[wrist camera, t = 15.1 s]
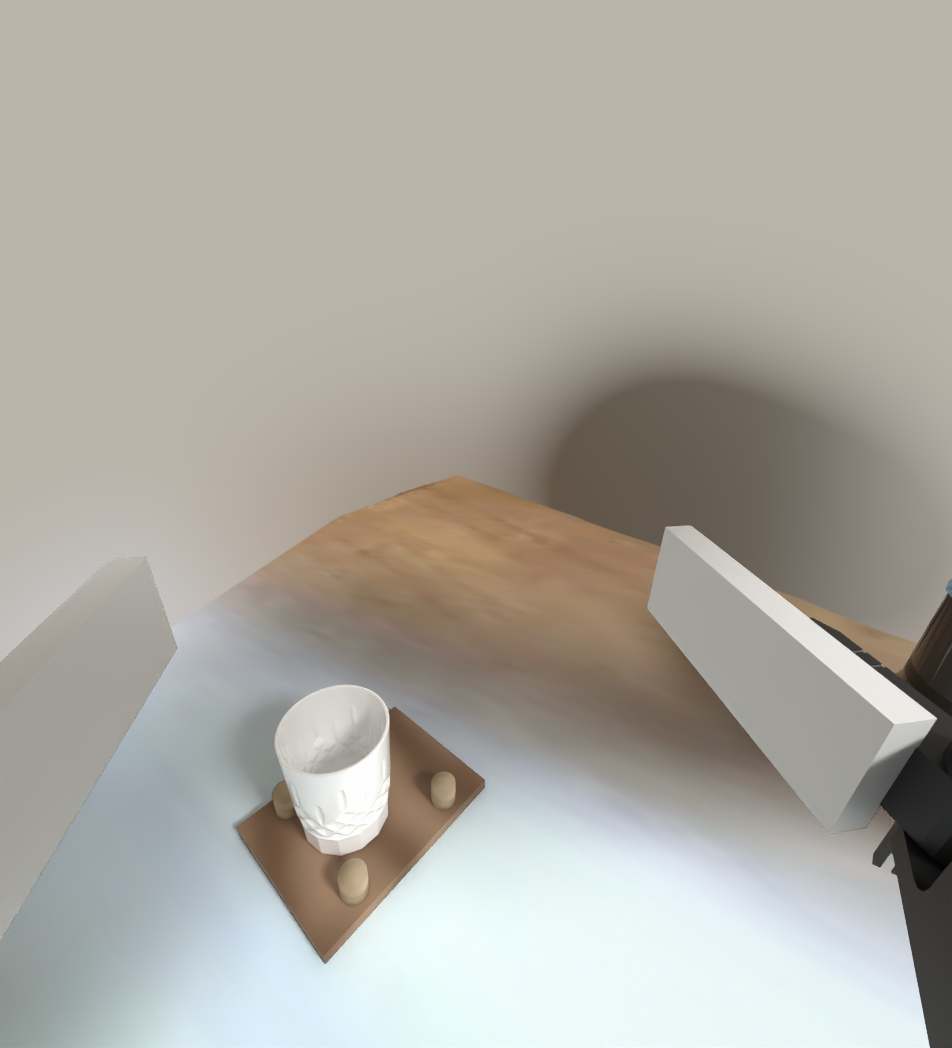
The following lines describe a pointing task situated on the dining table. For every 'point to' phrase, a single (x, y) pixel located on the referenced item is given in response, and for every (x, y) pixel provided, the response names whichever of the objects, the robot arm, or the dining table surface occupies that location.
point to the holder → (372, 872)
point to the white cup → (337, 765)
